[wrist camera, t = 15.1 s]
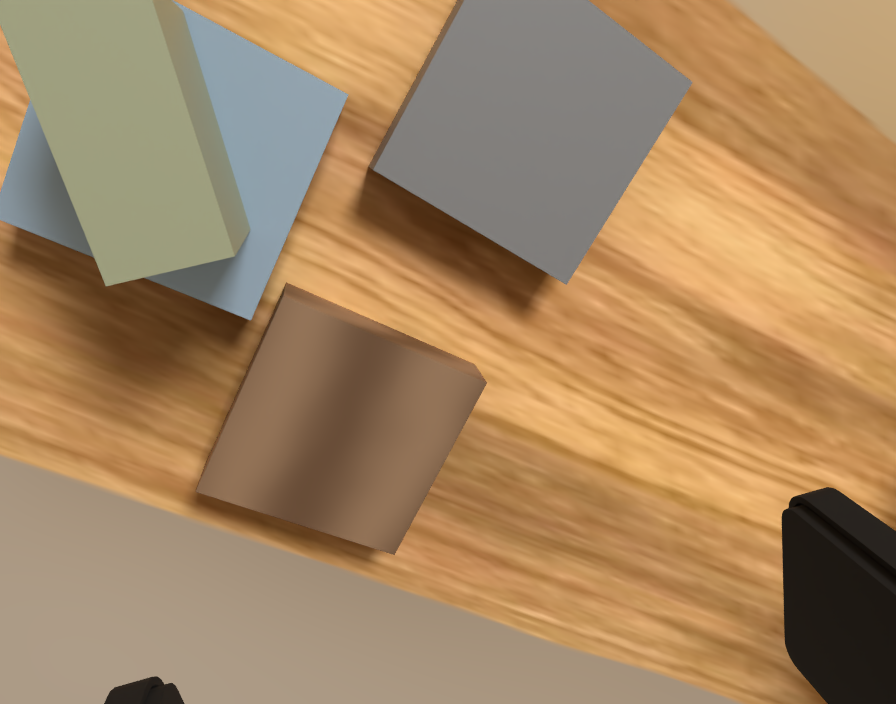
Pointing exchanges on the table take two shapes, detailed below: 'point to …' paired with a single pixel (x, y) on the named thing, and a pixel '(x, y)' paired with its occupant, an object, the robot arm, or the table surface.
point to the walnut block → (340, 423)
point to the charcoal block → (530, 124)
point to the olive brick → (129, 131)
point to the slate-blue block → (249, 151)
